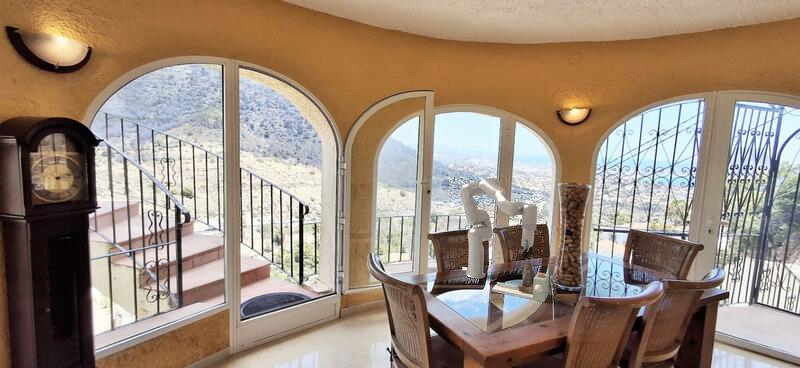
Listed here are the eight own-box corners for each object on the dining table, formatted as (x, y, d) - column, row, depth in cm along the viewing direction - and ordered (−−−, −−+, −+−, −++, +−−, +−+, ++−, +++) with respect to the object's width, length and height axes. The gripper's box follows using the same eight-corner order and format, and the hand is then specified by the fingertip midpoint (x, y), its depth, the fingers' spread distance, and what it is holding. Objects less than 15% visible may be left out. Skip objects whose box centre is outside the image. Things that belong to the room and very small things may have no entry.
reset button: (538, 279, 209) (538, 273, 209) (539, 277, 212) (539, 272, 211) (543, 280, 208) (543, 274, 208) (544, 278, 210) (544, 273, 210)
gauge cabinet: (532, 299, 207) (533, 278, 206) (536, 292, 218) (538, 272, 216) (544, 302, 204) (545, 280, 203) (548, 294, 215) (549, 274, 213)
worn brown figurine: (527, 290, 227) (524, 263, 223) (520, 287, 232) (517, 260, 228) (540, 283, 233) (538, 256, 229) (533, 280, 238) (530, 253, 234)
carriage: (517, 291, 214) (518, 273, 213) (519, 287, 219) (520, 270, 218) (531, 294, 210) (532, 276, 209) (534, 290, 215) (535, 273, 214)
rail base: (492, 291, 219) (492, 285, 218) (498, 284, 229) (498, 279, 229) (532, 299, 207) (532, 293, 207) (536, 292, 218) (537, 286, 217)
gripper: (525, 222, 220) (524, 251, 222) (518, 228, 205) (516, 259, 207) (539, 224, 216) (537, 253, 218) (532, 230, 202) (531, 261, 203)
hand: (527, 256), depth 213 cm, fingers open, 9 cm apart
